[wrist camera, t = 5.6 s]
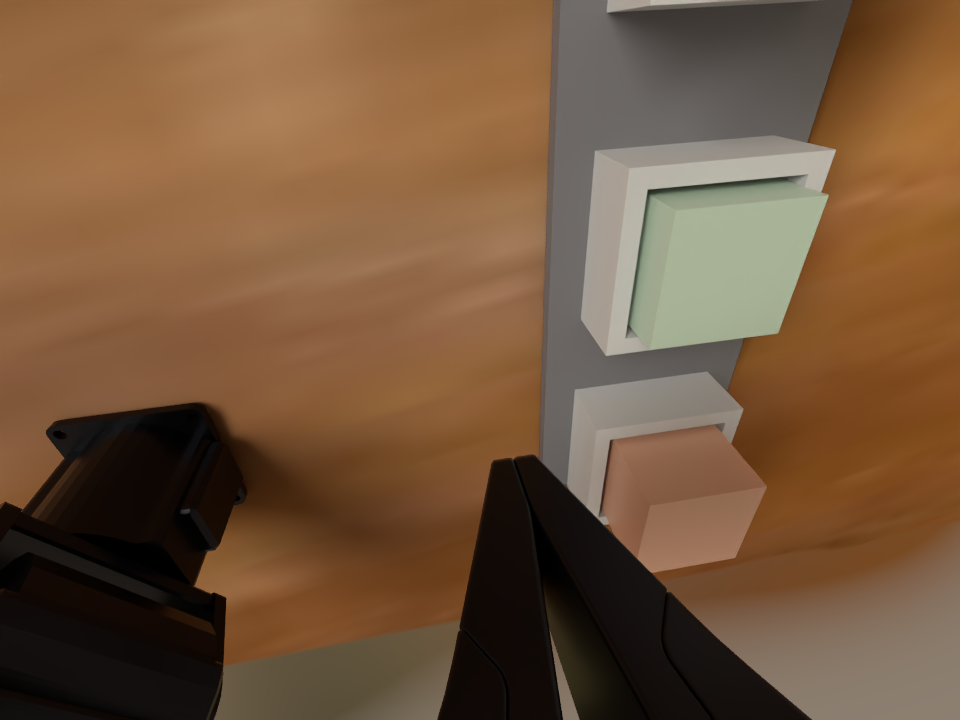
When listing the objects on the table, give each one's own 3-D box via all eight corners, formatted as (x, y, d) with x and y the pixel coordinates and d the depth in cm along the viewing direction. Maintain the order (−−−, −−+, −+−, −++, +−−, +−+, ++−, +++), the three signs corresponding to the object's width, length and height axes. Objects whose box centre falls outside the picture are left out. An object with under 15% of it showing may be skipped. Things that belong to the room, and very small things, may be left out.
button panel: (538, 477, 27) (556, 532, 24) (564, -348, 11) (631, -504, 8) (697, 453, 28) (734, 502, 25) (937, -340, 12) (1128, -476, 9)
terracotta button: (600, 505, 24) (632, 576, 21) (611, 436, 22) (650, 505, 18) (690, 490, 25) (734, 557, 22) (712, 421, 22) (767, 486, 19)
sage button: (607, 300, 20) (649, 350, 17) (622, 179, 17) (675, 210, 14) (716, 287, 20) (778, 333, 17) (747, 167, 18) (828, 194, 14)
